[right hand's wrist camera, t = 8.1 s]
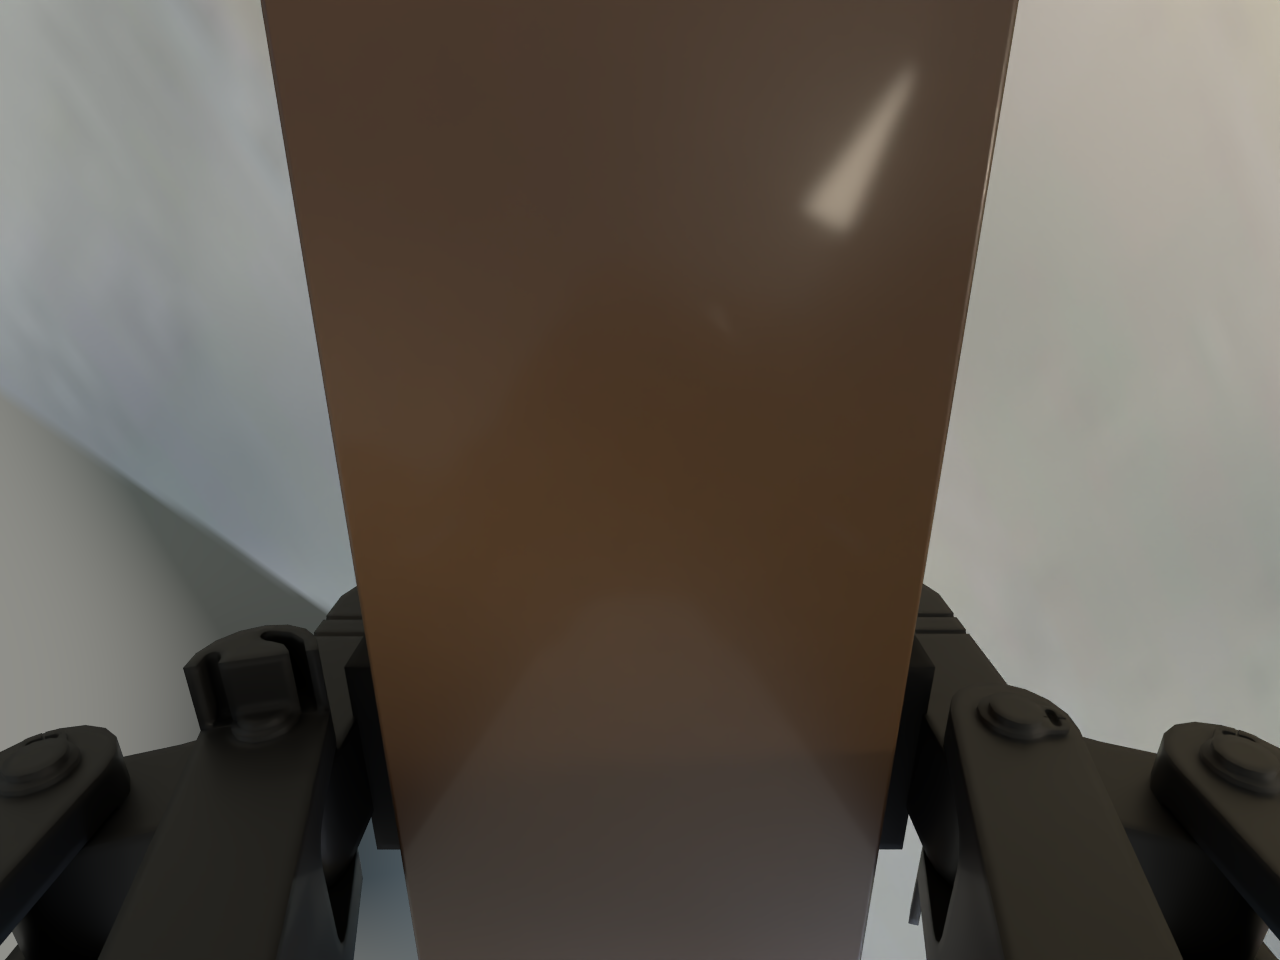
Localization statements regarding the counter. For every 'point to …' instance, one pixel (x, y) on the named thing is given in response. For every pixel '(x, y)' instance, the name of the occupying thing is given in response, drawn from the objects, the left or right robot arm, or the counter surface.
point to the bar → (639, 437)
